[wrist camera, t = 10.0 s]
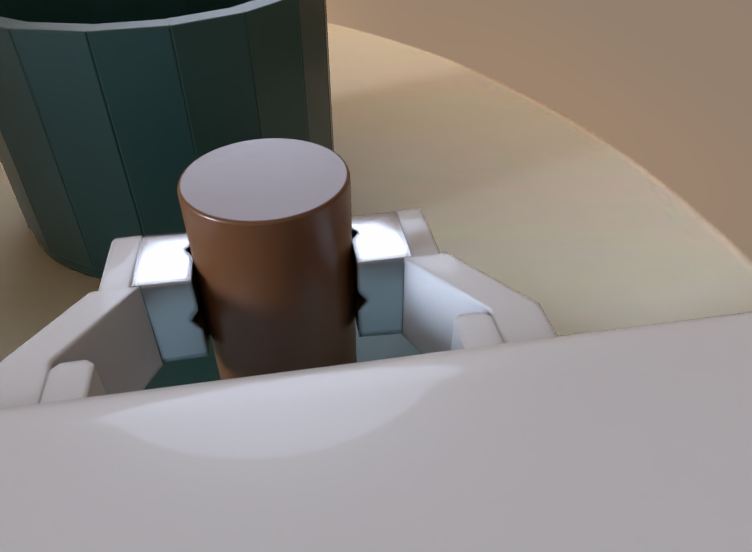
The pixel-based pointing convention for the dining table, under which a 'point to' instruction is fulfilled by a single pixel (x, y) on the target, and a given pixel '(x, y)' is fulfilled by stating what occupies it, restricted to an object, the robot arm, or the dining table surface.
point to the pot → (145, 105)
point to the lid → (273, 263)
